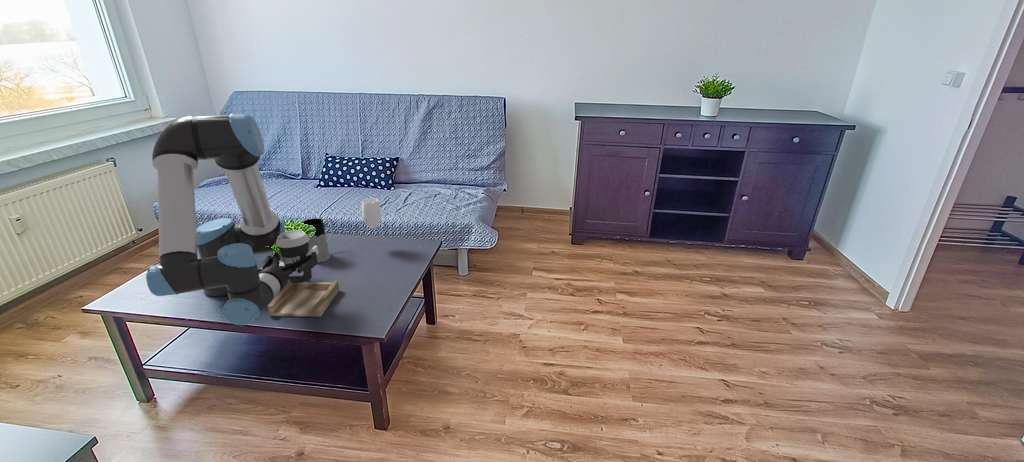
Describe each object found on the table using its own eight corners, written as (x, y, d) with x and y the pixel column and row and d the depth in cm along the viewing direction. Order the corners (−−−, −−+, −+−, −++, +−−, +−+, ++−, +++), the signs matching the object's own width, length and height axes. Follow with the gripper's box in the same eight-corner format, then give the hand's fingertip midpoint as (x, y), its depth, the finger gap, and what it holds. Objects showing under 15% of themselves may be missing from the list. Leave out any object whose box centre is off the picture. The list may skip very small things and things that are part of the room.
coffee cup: (284, 275, 149) (274, 232, 143) (316, 269, 152) (307, 227, 147) (284, 288, 141) (274, 243, 135) (317, 281, 144) (309, 237, 139)
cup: (380, 253, 184) (375, 204, 176) (363, 252, 185) (357, 203, 177) (387, 245, 191) (382, 198, 183) (371, 244, 192) (365, 197, 183)
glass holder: (301, 260, 178) (294, 224, 172) (327, 246, 190) (322, 212, 184) (319, 264, 175) (312, 228, 169) (344, 249, 187) (339, 215, 181)
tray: (269, 315, 143) (267, 306, 142) (292, 289, 158) (290, 280, 156) (320, 316, 143) (318, 307, 141) (339, 290, 157) (337, 281, 156)
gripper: (233, 295, 128) (274, 259, 150) (307, 296, 128) (337, 260, 149) (227, 271, 126) (269, 238, 147) (302, 272, 125) (333, 238, 146)
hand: (303, 249), depth 148 cm, fingers closed on coffee cup, 8 cm apart
